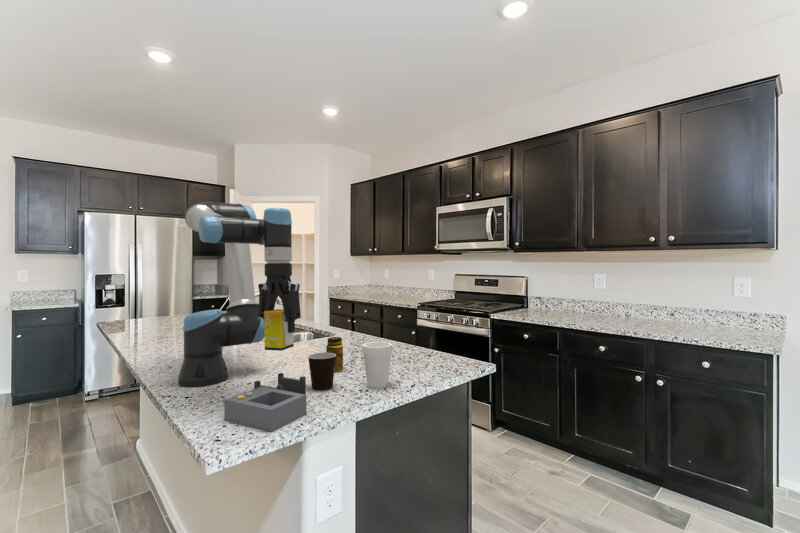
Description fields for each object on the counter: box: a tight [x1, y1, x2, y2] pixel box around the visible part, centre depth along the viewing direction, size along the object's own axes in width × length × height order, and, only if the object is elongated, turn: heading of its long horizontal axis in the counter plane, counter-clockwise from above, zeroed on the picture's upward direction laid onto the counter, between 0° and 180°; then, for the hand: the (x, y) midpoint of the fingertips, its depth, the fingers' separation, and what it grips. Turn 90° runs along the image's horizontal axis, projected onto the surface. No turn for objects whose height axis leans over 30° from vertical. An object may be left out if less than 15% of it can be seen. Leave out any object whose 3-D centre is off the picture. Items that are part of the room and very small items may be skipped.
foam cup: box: [361, 341, 393, 389], centre depth 124 cm, size 10×9×13 cm
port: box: [223, 385, 308, 432], centre depth 99 cm, size 16×12×6 cm
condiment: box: [325, 336, 348, 374], centre depth 142 cm, size 7×8×12 cm
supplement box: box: [264, 308, 295, 352], centre depth 111 cm, size 6×6×11 cm
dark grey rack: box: [253, 372, 307, 395], centre depth 114 cm, size 10×10×5 cm
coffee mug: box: [307, 352, 336, 392], centre depth 124 cm, size 12×9×10 cm
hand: (279, 343), depth 111 cm, fingers closed on supplement box, 6 cm apart
